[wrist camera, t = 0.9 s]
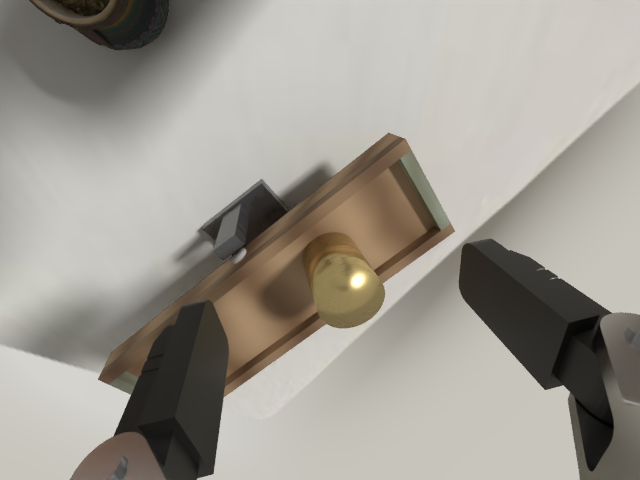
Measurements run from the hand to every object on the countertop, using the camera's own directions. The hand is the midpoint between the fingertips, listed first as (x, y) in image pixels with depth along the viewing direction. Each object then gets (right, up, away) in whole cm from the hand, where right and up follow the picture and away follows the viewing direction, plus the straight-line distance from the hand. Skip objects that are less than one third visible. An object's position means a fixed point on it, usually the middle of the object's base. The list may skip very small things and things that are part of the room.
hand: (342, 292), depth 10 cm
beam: (-5, -3, +18) cm, 19 cm away
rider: (0, 0, +17) cm, 17 cm away
